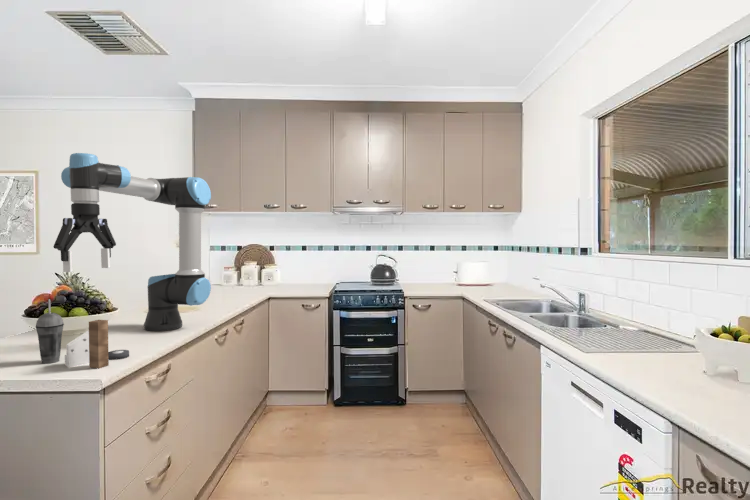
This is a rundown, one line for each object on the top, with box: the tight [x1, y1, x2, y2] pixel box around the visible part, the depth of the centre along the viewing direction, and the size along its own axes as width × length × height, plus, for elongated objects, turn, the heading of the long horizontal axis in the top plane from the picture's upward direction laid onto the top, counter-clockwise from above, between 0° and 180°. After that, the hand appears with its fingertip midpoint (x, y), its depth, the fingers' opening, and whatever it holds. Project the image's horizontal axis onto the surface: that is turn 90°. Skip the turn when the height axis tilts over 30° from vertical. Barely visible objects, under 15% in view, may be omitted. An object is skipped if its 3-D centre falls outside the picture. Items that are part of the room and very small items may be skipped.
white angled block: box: [64, 330, 89, 368], centre depth 137 cm, size 4×10×9 cm
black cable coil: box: [108, 349, 130, 361], centre depth 144 cm, size 6×6×2 cm
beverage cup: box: [35, 298, 65, 365], centre depth 138 cm, size 7×7×20 cm
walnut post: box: [88, 319, 110, 370], centre depth 133 cm, size 4×4×14 cm
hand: (87, 269), depth 140 cm, fingers open, 13 cm apart
